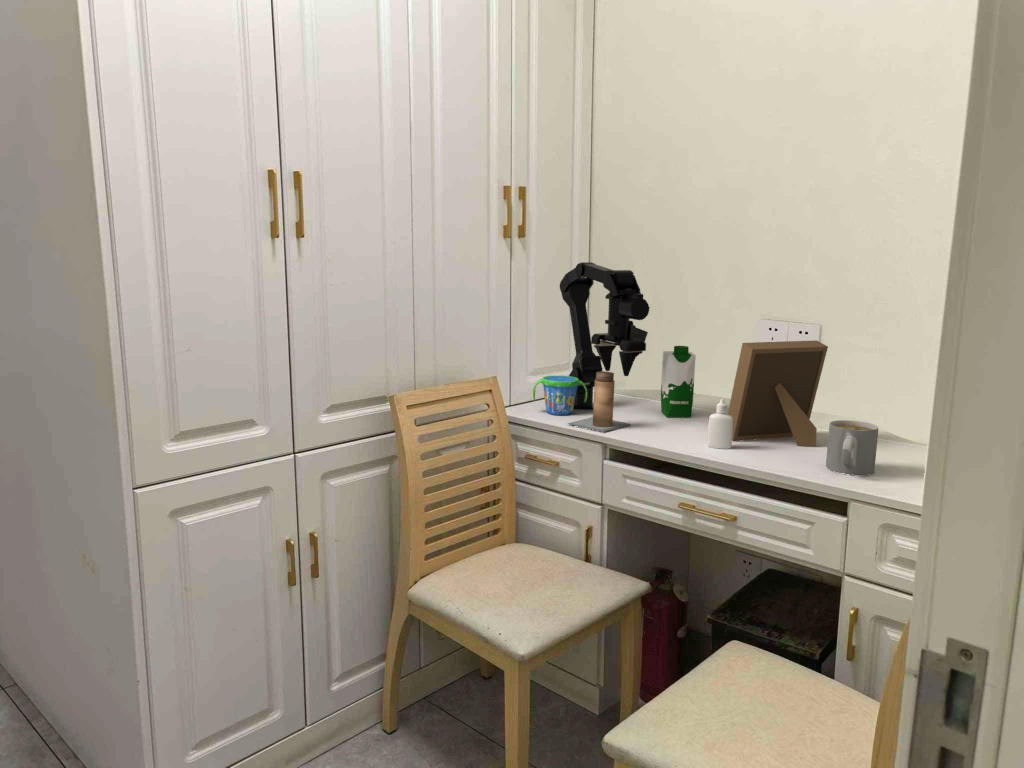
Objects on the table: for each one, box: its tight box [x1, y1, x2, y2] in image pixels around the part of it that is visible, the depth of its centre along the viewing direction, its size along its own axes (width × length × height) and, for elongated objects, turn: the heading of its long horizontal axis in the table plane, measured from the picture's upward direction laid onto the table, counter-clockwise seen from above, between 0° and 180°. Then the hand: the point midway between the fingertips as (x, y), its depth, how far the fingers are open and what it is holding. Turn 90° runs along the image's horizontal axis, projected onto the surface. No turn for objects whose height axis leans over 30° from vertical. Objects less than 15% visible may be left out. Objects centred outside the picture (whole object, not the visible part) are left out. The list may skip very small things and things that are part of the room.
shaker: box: [592, 371, 616, 427], centre depth 214 cm, size 5×5×14 cm
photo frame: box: [727, 339, 829, 447], centre depth 201 cm, size 15×22×25 cm
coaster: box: [567, 416, 631, 433], centre depth 217 cm, size 12×12×1 cm
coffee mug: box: [825, 419, 879, 476], centre depth 177 cm, size 13×10×10 cm
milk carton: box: [660, 345, 696, 418], centre depth 230 cm, size 9×9×20 cm
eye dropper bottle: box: [707, 398, 733, 450], centre depth 195 cm, size 4×6×12 cm
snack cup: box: [532, 375, 587, 416], centre depth 231 cm, size 16×10×10 cm
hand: (616, 373), depth 222 cm, fingers open, 9 cm apart
